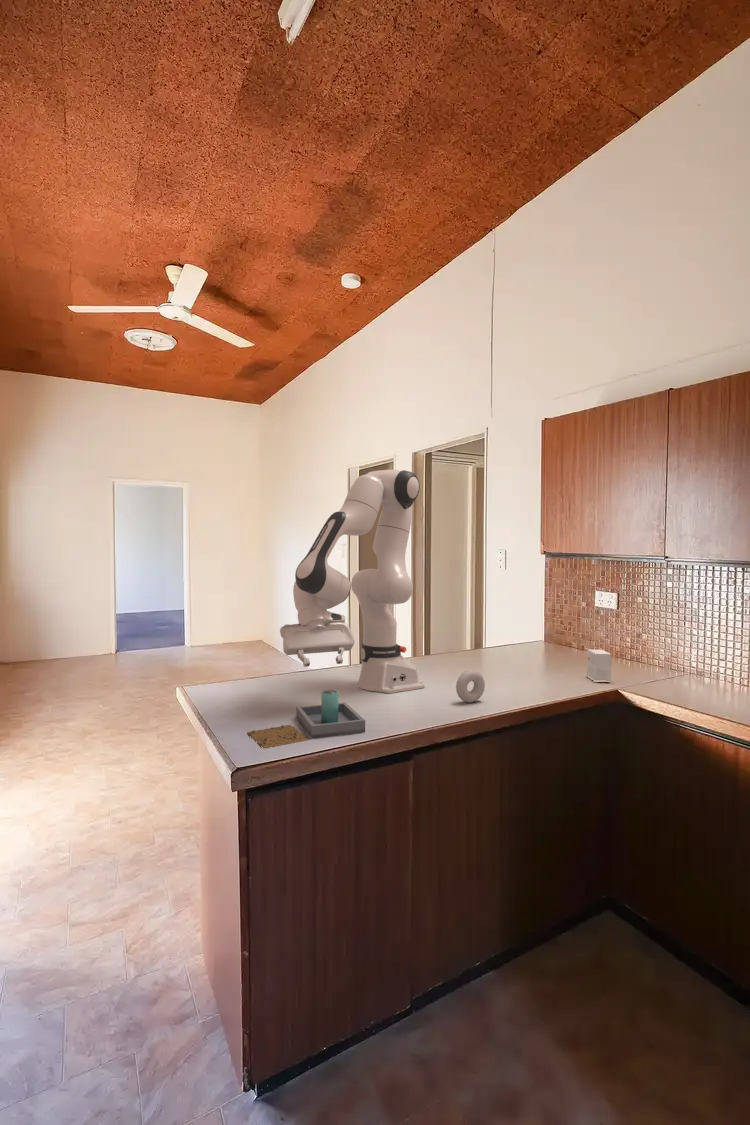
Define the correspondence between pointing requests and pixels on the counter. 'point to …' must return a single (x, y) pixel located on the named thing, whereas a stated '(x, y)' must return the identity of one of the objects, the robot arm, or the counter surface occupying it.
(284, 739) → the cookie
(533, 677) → the counter surface
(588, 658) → the small box
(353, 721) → the tray
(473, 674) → the donut
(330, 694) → the cup
